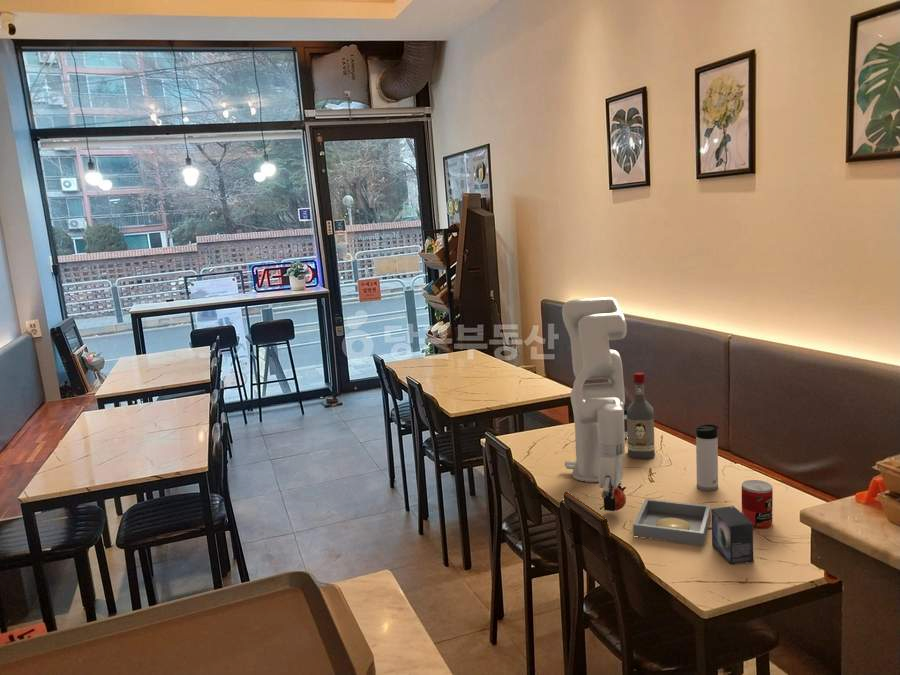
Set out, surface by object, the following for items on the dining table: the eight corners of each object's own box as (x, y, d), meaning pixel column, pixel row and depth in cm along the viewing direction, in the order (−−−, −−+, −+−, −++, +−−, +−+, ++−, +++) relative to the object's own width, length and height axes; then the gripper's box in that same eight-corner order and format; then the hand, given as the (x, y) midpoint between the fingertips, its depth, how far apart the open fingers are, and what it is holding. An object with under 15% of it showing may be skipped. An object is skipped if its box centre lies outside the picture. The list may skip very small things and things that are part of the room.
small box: (709, 545, 182) (709, 507, 180) (734, 542, 182) (733, 505, 180) (729, 565, 171) (729, 525, 170) (754, 562, 172) (754, 522, 170)
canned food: (759, 531, 187) (759, 493, 185) (735, 521, 194) (735, 484, 192) (779, 524, 190) (779, 486, 189) (754, 514, 197) (754, 477, 196)
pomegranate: (608, 522, 201) (635, 502, 199) (591, 503, 201) (619, 482, 199) (606, 513, 208) (633, 493, 206) (590, 494, 208) (616, 474, 206)
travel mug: (720, 491, 215) (720, 428, 211) (698, 491, 216) (697, 429, 212) (717, 483, 221) (716, 422, 217) (695, 483, 222) (694, 422, 218)
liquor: (628, 450, 256) (626, 370, 251) (654, 450, 253) (652, 370, 248) (628, 458, 247) (625, 376, 242) (654, 459, 245) (652, 376, 240)
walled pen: (633, 536, 190) (633, 524, 189) (645, 509, 205) (645, 498, 205) (703, 545, 182) (703, 533, 181) (710, 517, 198) (710, 505, 197)
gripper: (605, 436, 210) (607, 490, 213) (590, 457, 195) (592, 515, 198) (630, 438, 206) (632, 493, 210) (617, 459, 191) (619, 519, 195)
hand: (613, 503), depth 204 cm, fingers closed on pomegranate, 7 cm apart
